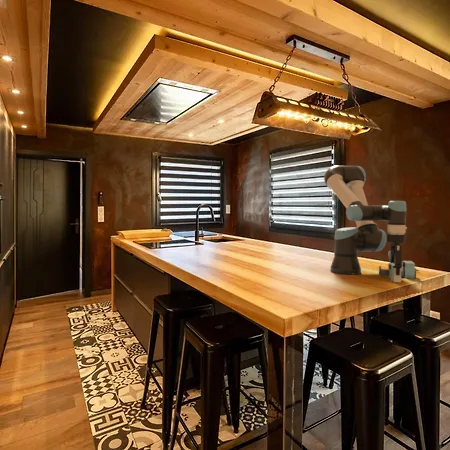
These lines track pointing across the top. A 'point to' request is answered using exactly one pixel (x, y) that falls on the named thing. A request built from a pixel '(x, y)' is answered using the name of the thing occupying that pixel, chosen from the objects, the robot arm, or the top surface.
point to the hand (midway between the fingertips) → (395, 279)
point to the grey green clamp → (407, 271)
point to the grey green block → (391, 271)
